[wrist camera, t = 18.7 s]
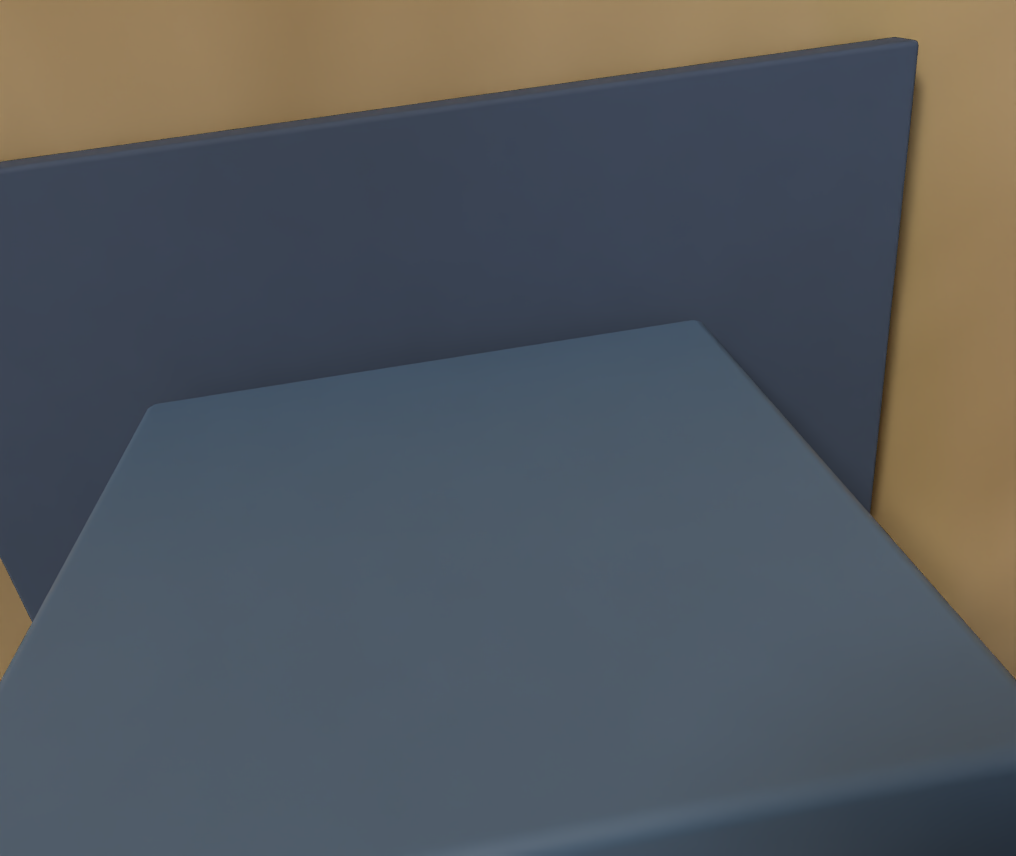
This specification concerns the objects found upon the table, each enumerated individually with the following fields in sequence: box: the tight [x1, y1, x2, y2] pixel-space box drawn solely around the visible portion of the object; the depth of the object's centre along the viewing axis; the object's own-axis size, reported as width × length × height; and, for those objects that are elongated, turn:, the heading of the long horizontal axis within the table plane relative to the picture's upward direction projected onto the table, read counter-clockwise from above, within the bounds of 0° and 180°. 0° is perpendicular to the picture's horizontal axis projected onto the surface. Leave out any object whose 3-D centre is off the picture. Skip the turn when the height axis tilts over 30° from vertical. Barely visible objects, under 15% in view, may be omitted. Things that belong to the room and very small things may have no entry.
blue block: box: [0, 320, 1016, 856], centre depth 7 cm, size 5×5×5 cm
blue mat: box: [0, 37, 918, 622], centre depth 9 cm, size 9×9×1 cm
